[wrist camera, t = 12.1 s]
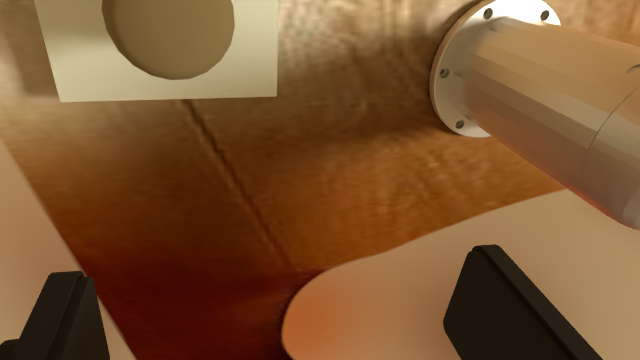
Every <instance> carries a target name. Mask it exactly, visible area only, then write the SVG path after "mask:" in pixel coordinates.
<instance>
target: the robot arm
mask: <svg viewBox="0 0 640 360" xmlns="http://www.w3.org/2000/svg"><path fill="white" fill-rule="evenodd" d="M429 89H430V98H431V102H432V105H433V108H434V111H435V112H436V114H437V116H438V117H439V119H440V120H441V121H442V122H443V123H444V124H445V125H446V126H447V127H449V128H450V129H451V130H453V131H454V132H456V133H458V134H461V135H463V136H466V137H472V138H483V137H490V136H492V137H494V138H495V139H497V140H498V141H500V142H501V143H502V144H504V145H505V146H507V147H508V148H510V149H511V150H512V151H514V152H515V153H517V154H518V155H520V156H521V157H523V158H524V159H525V160H527V161H528V162H530V163H531V164H533V165H534V166H535V167H537V168H538V169H540V170H541V171H543V172H544V173H545V174H547V175H548V176H550V177H551V178H553V179H554V180H556V181H557V182H558V183H560V184H561V185H563V186H564V187H566V188H567V189H568V190H570V191H572V192H573V193H574V194H576V195H577V196H579V197H580V198H581V199H583V200H584V201H586V202H587V203H589V204H590V205H592V206H593V207H595V208H596V209H598V210H599V211H601V212H602V213H604V214H605V215H606V216H608V217H610V218H611V219H613V220H615V221H617V222H618V223H620V224H622V225H624V226H627V227H629V228H632V229H635V230H638V231H640V47H639V46H635V45H631V44H628V43H624V42H620V41H616V40H613V39H609V38H605V37H601V36H598V35H594V34H590V33H587V32H583V31H579V30H575V29H572V28H568V27H564V26H561V23H560V20H559V18H558V16H557V14H556V13H555V11H554V10H553V8H552V7H550V6H549V5H548V4H547V3H546V2H545V1H543V0H483V1H482V2H480V3H479V4H477V5H475V6H474V7H472V8H471V9H469V10H468V11H467V12H466V13H465V14H464V15H463V16H462V17H460V18H459V19H458V20H457V21H456V23H455V24H454V25H453V26H452V28H451V29H450V30H449V31H448V33H447V34H446V36H445V37H444V39H443V41H442V42H441V44H440V46H439V48H438V51H437V53H436V55H435V58H434V60H433V65H432V69H431V73H430V84H429ZM443 324H444V330H445V332H446V334H447V336H448V337H449V339H450V341H451V343H452V344H453V346H454V348H455V349H456V351H457V353H458V355H459V356H460V358H461V360H603V359H602V358H601V357H600V356H599V355H598V354H597V353H596V352H595V351H594V349H593V348H592V347H591V346H590V345H589V344H588V343H587V342H586V341H585V339H584V338H583V337H582V336H581V335H580V334H579V333H578V332H577V331H576V330H575V328H573V326H572V325H571V324H570V323H569V322H568V321H567V320H566V319H565V317H564V316H563V315H562V314H561V313H560V312H559V311H558V310H557V309H556V308H555V307H554V305H553V304H552V303H551V302H550V301H549V300H548V299H547V298H546V297H545V296H544V294H543V293H542V292H541V291H540V290H539V289H538V288H537V287H536V286H535V285H534V283H533V282H532V281H531V280H530V279H529V278H528V277H527V276H526V275H525V274H524V272H523V271H522V270H521V269H520V268H519V267H518V266H517V265H516V264H515V263H514V262H513V260H512V259H511V258H510V257H509V256H508V255H507V254H506V253H505V252H504V251H503V249H502V248H501V247H499V246H498V245H481V246H475V247H474V248H473V249H472V251H471V252H469V253H468V254H467V257H466V259H465V262H464V265H463V268H462V270H461V273H460V276H459V278H458V281H457V284H456V287H455V289H454V292H453V295H452V297H451V300H450V303H449V306H448V308H447V311H446V314H445V317H444V320H443ZM0 360H110V355H109V350H108V346H107V341H106V336H105V332H104V328H103V323H102V318H101V313H100V308H99V304H98V299H97V294H96V290H95V285H94V281H93V278H92V277H84V274H83V272H82V271H71V272H56V273H51V274H50V275H49V276H48V278H47V280H46V282H45V284H44V287H43V289H42V291H41V293H40V295H39V297H38V299H37V302H36V304H35V306H34V308H33V310H32V312H31V314H30V316H29V319H28V321H27V323H26V325H25V327H24V329H23V332H22V334H21V336H20V338H19V339H14V340H7V341H4V342H3V343H2V344H1V345H0Z"/></svg>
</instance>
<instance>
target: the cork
mask: <svg viewBox="0 0 640 360" xmlns="http://www.w3.org/2000/svg"><path fill="white" fill-rule="evenodd" d="M101 9H102V13H103V18H104V22H105V26H106V30H107V32H108V34H109V36H110V37H111V39H112V41H113V43H114V44H115V46H116V48H117V49H118V51H119V52H120V53H121V54H122V55H123V56H124V57H125V58H126V59H127V60H128V61H129V62H130V63H131V64H132V65H133V66H135V67H137V68H139V69H140V70H142V71H144V72H146V73H148V74H149V75H151V76H155V77H159V78H164V79H168V80H183V79H191V78H194V77H196V76H199V75H201V74H204V73H206V72H208V71H209V70H210V69H211V68H212V67H214V66H215V65H216V64H217V63H218V62H220V61H221V60H222V58H223V56H224V55H225V53H226V52H227V50H228V48H229V47H230V45H231V41H232V37H233V32H234V28H235V21H234V9H233V4H232V2H231V0H102V8H101Z"/></svg>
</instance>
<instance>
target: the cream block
mask: <svg viewBox="0 0 640 360" xmlns="http://www.w3.org/2000/svg"><path fill="white" fill-rule="evenodd" d="M231 2H232V4H233V9H234V21H235V28H234V32H233V37H232V41H231V45H230V47H229V48H228V50H227V52H226V53H225V55H224V56H223V58H222V60H221V61H220V62H218V63H217V64H216V65H215V66H214V67H212V68H211V69H210V70H209V71H208V72H206V73H204V74H201V75H199V76H196V77H194V78H191V79H183V80H168V79H164V78H159V77H155V76H151V75H149V74H148V73H146V72H144V71H142V70H140V69H139V68H137V67H135V66H133V65H132V64H131V63H130V62H129V61H128V60H127V59H126V58H125V57H124V56H123V55H122V54H121V53H120V52H119V51H118V49H117V48H116V46H115V44H114V43H113V41H112V39H111V37H110V36H109V34H108V32H107V30H106V26H105V22H104V18H103V13H102V9H101V8H102V0H34V4H35V8H36V12H37V16H38V19H39V23H40V27H41V31H42V35H43V38H44V42H45V46H46V50H47V53H48V57H49V61H50V65H51V69H52V72H53V76H54V80H55V84H56V88H57V91H58V95H59V99H60V102H88V101H126V100H165V99H203V98H241V97H277V55H278V0H231Z"/></svg>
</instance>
